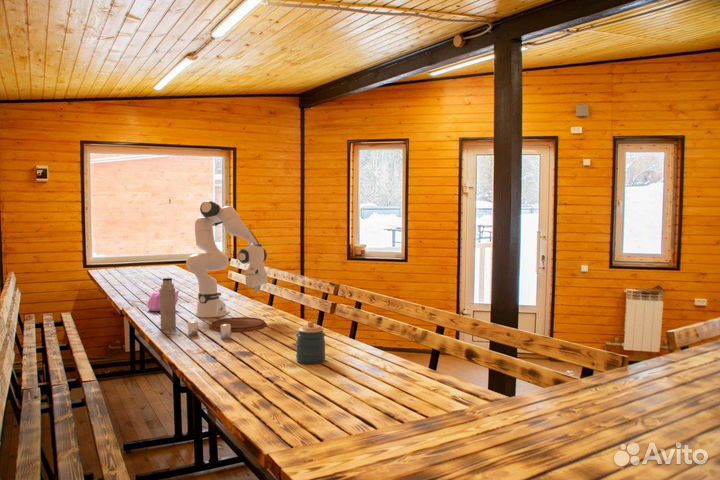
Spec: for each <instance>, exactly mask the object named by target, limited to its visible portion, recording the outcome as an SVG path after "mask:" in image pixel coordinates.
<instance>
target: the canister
mask: <svg viewBox="0 0 720 480" xmlns="http://www.w3.org/2000/svg"><path fill="white" fill-rule="evenodd" d="M297 331H298V332H297V333H296V334H295V335H296V337H297V338H296V342H295V344H296V355H295V358H296V362H297V363H299V364H303V365H318V364H322V363H324V362H325V361H326V358H327V356H326V339H325V337H326V335H327V334H326V332H324V328H323V327H321V325H318V324H315V323H314V321H308V323H307V324H304V325H301V326H300V327H299V328H297Z"/></svg>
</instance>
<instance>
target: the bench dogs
mask: <svg viewBox="0 0 720 480" xmlns="http://www.w3.org/2000/svg"><path fill="white" fill-rule="evenodd" d="M231 333H232V332H231V325H230V324H222V325H221V332H220V339H221V340H230V339H231V337H232V335H231ZM187 336H188V337H197V336H199V321H197V320H194V321H193V320H191V321H188V322H187Z"/></svg>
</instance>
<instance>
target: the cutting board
mask: <svg viewBox="0 0 720 480" xmlns="http://www.w3.org/2000/svg"><path fill="white" fill-rule="evenodd" d="M222 324H230V325H231V333H246V332H247V331H248V332H254V330H255V331H258V329H259V330H262V329H265V328H266V327H267V322H266V321H265V320H264V319H262V318H258V317H251V316H250V317H249V316H248V317H247V316H246V317H244V316H243V317H242V316H241V317H240V316H239V317H236V316H235V317H228V318H227V317H226V318H220V319H216V320H213V321H212V322H211V323H210V324H209V327H208V328H209V330H211V331H214V332H218V331H219V332H218V333H221V325H222ZM264 327H265V328H264Z"/></svg>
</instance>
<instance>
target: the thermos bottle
mask: <svg viewBox="0 0 720 480" xmlns="http://www.w3.org/2000/svg"><path fill="white" fill-rule="evenodd" d="M160 286H161V288H159V289H160V311H159V312H160V329H161V330H174V329H175V328H176V326H177V325H176V324H177V323H176V321H177V319H176V316H177V313H176V304H175V292H176V288H175V284H174V283H173V278H171V277H170V278H169V277H166V278H164V277H163V278H162V284H161V285H160Z"/></svg>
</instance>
